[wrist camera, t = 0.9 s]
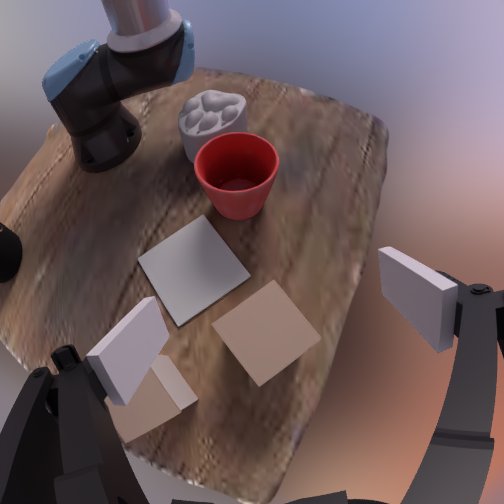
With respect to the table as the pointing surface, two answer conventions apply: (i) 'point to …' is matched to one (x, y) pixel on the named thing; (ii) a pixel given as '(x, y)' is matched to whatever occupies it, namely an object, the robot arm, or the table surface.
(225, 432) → the table surface
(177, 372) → the cover canister
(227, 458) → the table surface
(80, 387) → the robot arm
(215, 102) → the lumpy-topped squat cylinder
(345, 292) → the table surface
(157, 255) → the felt mat
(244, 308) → the empty canister
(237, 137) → the flower pot
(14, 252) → the coffee jar
